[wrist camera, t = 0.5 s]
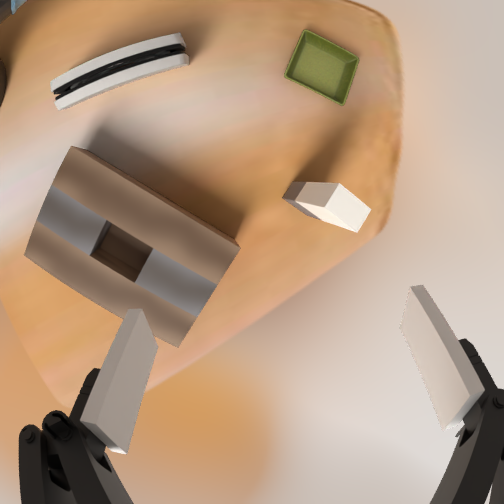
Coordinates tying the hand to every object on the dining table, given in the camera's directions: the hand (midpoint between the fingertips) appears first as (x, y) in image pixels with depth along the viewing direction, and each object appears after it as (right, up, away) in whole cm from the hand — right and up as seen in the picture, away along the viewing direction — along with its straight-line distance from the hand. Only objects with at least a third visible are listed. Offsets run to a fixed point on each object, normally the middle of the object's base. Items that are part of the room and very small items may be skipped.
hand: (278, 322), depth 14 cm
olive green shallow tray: (+8, +28, +20) cm, 35 cm away
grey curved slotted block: (-17, +25, +16) cm, 34 cm away
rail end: (+5, +10, +23) cm, 26 cm away
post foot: (-16, +4, +21) cm, 27 cm away
